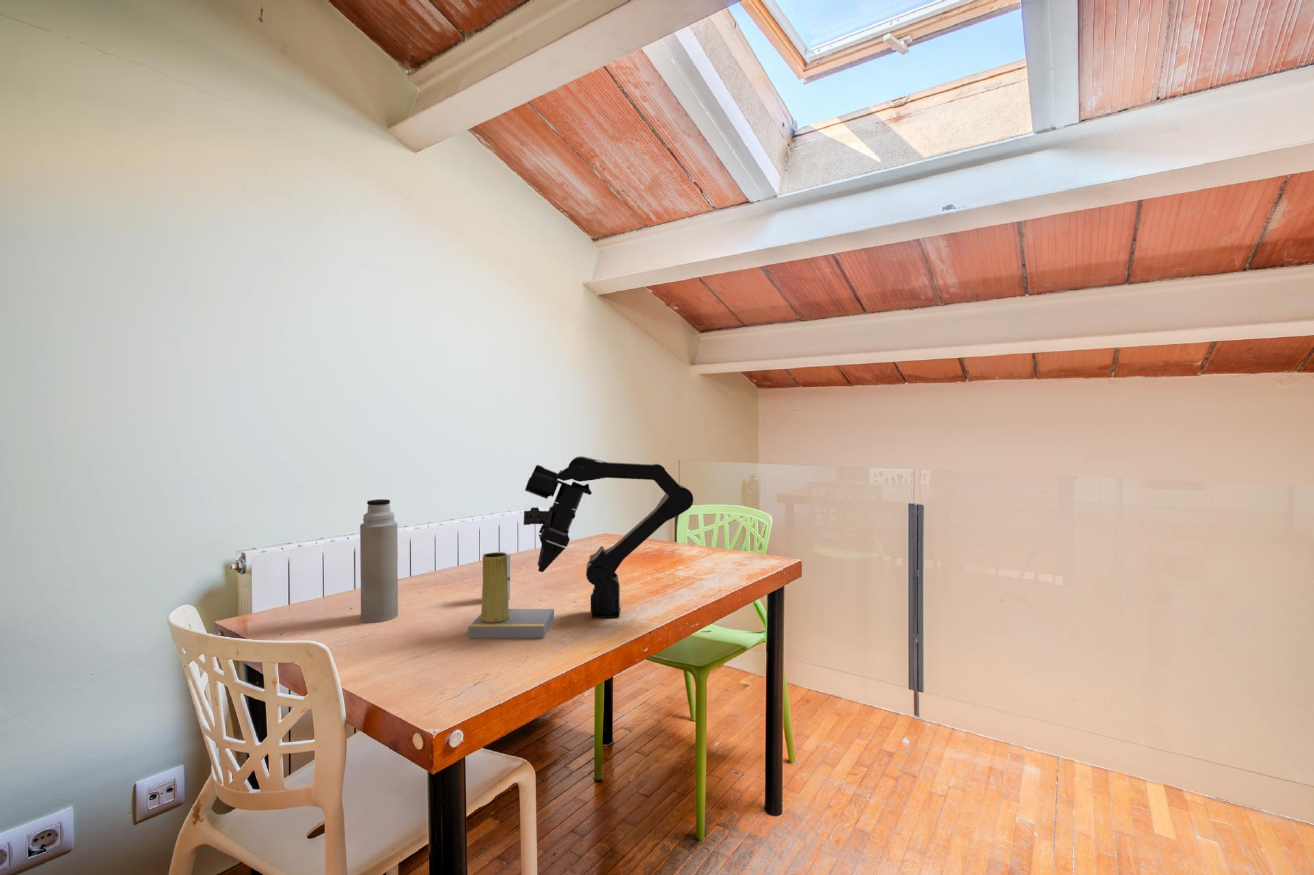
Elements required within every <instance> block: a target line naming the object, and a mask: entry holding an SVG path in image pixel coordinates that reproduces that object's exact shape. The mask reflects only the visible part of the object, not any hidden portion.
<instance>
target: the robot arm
mask: <svg viewBox="0 0 1314 875" xmlns="http://www.w3.org/2000/svg"><path fill="white" fill-rule="evenodd" d="M602 479H625V480H628V479H630V480H645V481H647V480H649V481H651V480H652V481H654V482H655V483H656V484H657V485H658V487H659V488H660V489H661V490H662V491H663V493H664V495H663V497H661V499H660V500H659V502H658V503H657V505H656V507H655V508H654V509H653V510H652V511H651V512H650V513H649V514H648V515H646V516H645V517H644V518H643V519H642V520H641V521H640V522H639V523H637V524H636V525H635V526H634V527H632V528H631V529H630V530H629V531H628V532H627V533H626V534H625V535H624V536H623V537H622V538H621V539H620V540H618V541H617V542H615V544H614V545H613V546H611V547H609V548H606V549H605V548H604V546H603V545H602V546H600V547H599V548H598V550H597V551H596V552H595V553H593V554H591V555H589V560H588V562H587V564H586V571H585V572H586V573H585V575H586V579H587V581H588V583H590V584H591V585H593V589H592V593H591V594H590V613H591V614H592V615H591V618H620V616H621V611H622V610H621V608H622V607H621V588H620V587H621V586H620V581H619V576H618V574H617V573H616V572H617V570H618V568H619V567H620V565H621V563H622V562H623V561H624V560H625V559H626V558H627V557H628V556H629V555H631V554H632V552H634V551H635V550H636V549H637V548H638V547H640V546H641V545H642V544H643V543H644V542H646V540H647V539H648V538H649V537H650V536H652V535H653V534H654V533H655V532H656V531H658V529H660V528H661V527H662V526H663V525H664V524H666V523H667V522H668V521H671V520H672V519H674V518H676V517H678V516H680V515H681V514H683V513H684V512H686V511H687V510H689V509H690V508H691V507H692V506H693V504H694V496H693V493H692V491H691V490H690V489H688V488H687V487H685V486H683V485H681V484H680V485H679V483H677V481H676V480H675V479H674V478H673V477H672V476H671V475H670V474H669V473H668V472H667V470H666V469H665V467H664V466H663V465H661V464H660V463H653V464H651V463H649V464H648V463H628V462H626V463H625V462H609V461H608V462H607V461H603V460H599V459H596V458H592V457H586V456H582V455H581V456H576V457H574V458H573V459H572V460H571V461H570V462H569V464H568V467H566V468H564V469H563V470H562V469H561V470H559V472H555V471H552V470H550V469H548V468H545V467H543V466H542V465H539V464H536V465H535V466H534V470H533V471H532V473H531V476H530V477H529V478H528V480H527V483H526V485H525V488H524V491H525V492H527V493H530V494H533V495H535V496H538V497H541V498H543V499H545V500H548V498H549V497H552V498H554V495H555V494H556V496H555V499H554V501H553V503H552V506H550V507H549V509H548V510H540V509H539V507H538V506H537V507H533V506H532V507H531V508H530V510H524V511H523V526H530V525H541V526H540V529H539V531H538V532H539V534H538V537H539V541H540V544H541V545H540V546H541V547H540V551H539V556H538V562H537V566H538V570H537V571H538V572H540V573H544V572H545V571H546V569H547V568H548V567H549V566H550V565H551V564H552V563H553V562H554V561H555V560H556V559H557V558H558V557H559V556H560V555H561V554H562V552H563V551H564V550H565V549H566V548H568V546H569V542H570V537H569V532H570V531H569V530H570V528H571V526H572V523H573V521H574V520H575V518H576V513H577V510H578V509H579V508H578V507H579V505H580V503H581V500H582V498H583V495H584V494H586V495H588V496H590V495H592V493H593V492H592V491H591V489H590V484H589V483H586V484H581V483H582V482H587V481H596V480H602ZM569 480H573V481H572V483H571V484H569V483H567V482H566V481H569ZM564 481H565V482H564ZM578 482H579V483H578ZM580 482H581V483H580ZM559 485H560V487H559V489H557V488H558V486H559ZM556 490H558V492H557V493H556Z"/></svg>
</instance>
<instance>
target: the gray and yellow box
mask: <svg viewBox="0 0 1314 875" xmlns="http://www.w3.org/2000/svg"><path fill="white" fill-rule="evenodd" d="M554 621H555V608H509V618H508V619H507V620H505V621H502V622H498V623H486V622H483V621H482V620H481V614H480V615H478V617H477V618H475V620H473V622H472V623H470V624H469V625H468V639H545V636H546V635H547V634H548V631H549V629H550V627H551V625H552V624H553V622H554Z"/></svg>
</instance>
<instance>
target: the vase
mask: <svg viewBox="0 0 1314 875" xmlns="http://www.w3.org/2000/svg"><path fill="white" fill-rule="evenodd" d="M494 552H495V553H494ZM494 552H486V553H487V554H485V553H483V555H482V588H481V589H482V590H481V591H482V592H481V611H480V612H481V613H480V615H481V620H482V621H483V622H486V623H498V622H502V621H505V620H507V619H508V618H509V609H510V608H509V607H510V606H509V605H510V604H509V600H508V585H507V554H506V553H501V552H502V551H499V552H498V551H494Z"/></svg>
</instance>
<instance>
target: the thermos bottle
mask: <svg viewBox="0 0 1314 875" xmlns="http://www.w3.org/2000/svg"><path fill="white" fill-rule="evenodd" d="M390 503H391V500H390V499H385V498H384V499H380V498H379V499H371V500H367V501H366V504H367V505H368V506H367V512H366V513H365V514H363V519H362V521H363V523H361V524H360V525H359V535H360V536H359V537H360V538H359V541H360V542H359V544H360V546H359V547H360V548H359V550H360V555H359V557H360V558H359V559H360V560H359V561H360V564H359V565H360V566H359V568H360V569H359V570H360V621H362V622H364V623H381V622H386V621H389V620H393V619H395V618H397V617H398V616H399V582H398V581H399V578H398V576H399V575H398V572H399V571H398V567H399V566H398V564H399V563H398V562H399V561H398V560H399V559H398V558H399V557H398V553H399V552H398V550H399V547H398V544H399V543H398V541H399V540H398V522H397V521H395V517H396V515H395V513H394V512H392V511H391V505H390Z"/></svg>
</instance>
